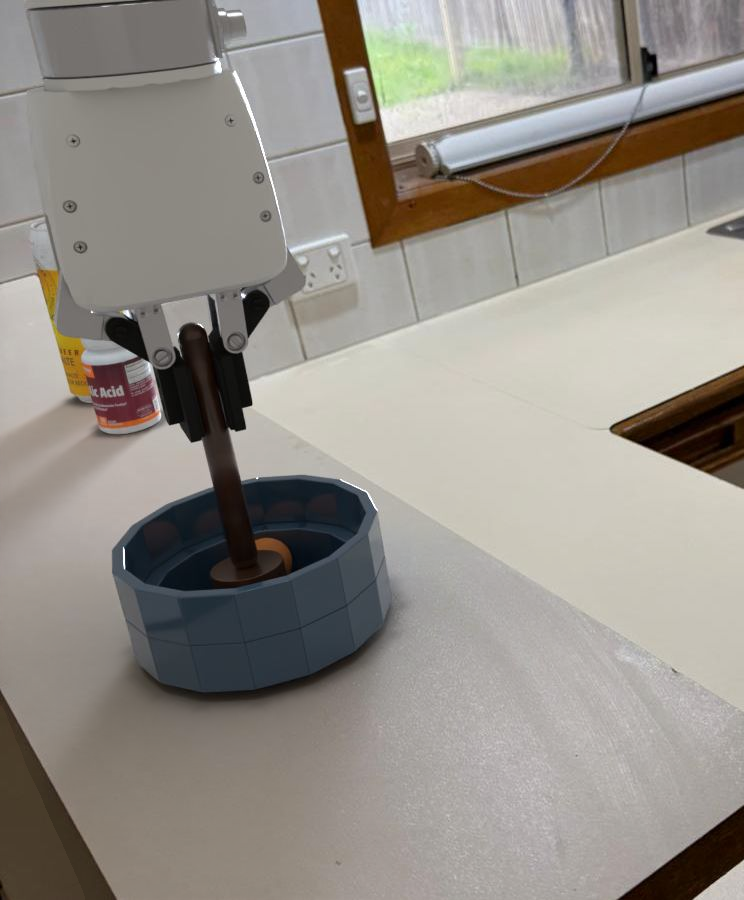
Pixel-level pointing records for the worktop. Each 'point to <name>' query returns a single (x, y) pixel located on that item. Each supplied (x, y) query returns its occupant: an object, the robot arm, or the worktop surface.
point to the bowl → (253, 586)
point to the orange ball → (278, 547)
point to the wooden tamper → (225, 473)
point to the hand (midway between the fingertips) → (212, 426)
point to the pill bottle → (119, 387)
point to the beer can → (49, 283)
